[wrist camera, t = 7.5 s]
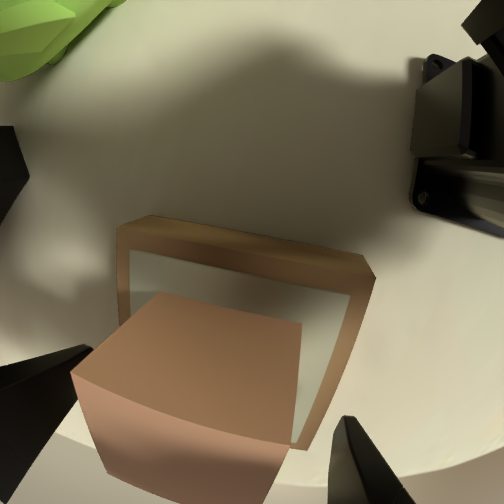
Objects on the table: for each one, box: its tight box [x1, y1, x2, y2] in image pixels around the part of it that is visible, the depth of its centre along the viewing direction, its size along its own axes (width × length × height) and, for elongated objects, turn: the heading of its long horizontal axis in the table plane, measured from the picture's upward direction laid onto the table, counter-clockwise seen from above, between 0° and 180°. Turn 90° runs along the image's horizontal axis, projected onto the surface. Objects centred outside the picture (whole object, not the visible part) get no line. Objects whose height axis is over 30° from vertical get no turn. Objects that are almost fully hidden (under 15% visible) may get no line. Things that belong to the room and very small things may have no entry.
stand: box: [117, 215, 376, 451], centre depth 12 cm, size 9×9×3 cm
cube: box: [70, 291, 302, 504], centre depth 8 cm, size 5×5×5 cm
